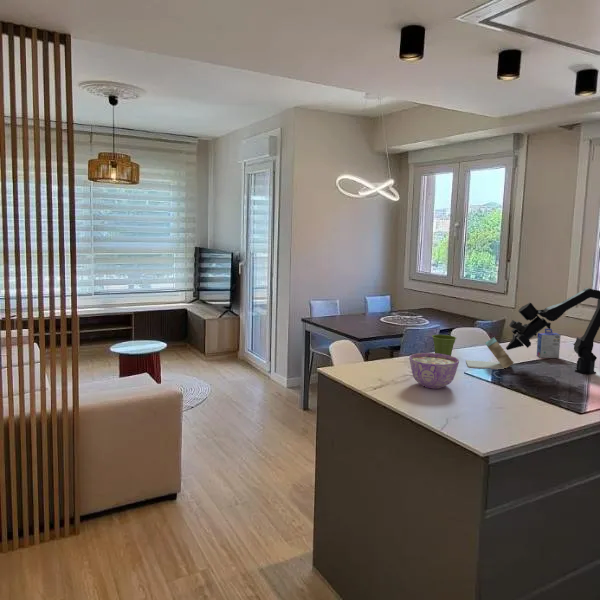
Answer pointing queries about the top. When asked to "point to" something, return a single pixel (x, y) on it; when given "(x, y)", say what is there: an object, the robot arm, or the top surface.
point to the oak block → (499, 353)
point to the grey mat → (484, 364)
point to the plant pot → (443, 344)
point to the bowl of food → (433, 369)
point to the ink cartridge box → (548, 344)
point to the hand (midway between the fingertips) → (506, 349)
